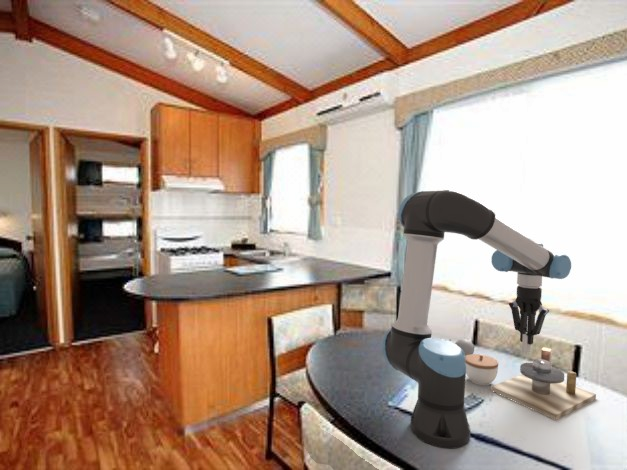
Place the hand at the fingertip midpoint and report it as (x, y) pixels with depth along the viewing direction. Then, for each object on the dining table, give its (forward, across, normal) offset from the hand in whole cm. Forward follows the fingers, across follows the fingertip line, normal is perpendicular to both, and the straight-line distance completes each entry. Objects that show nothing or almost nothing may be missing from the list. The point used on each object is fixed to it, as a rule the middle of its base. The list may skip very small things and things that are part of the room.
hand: (526, 352), depth 132 cm
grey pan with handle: (+3, -9, +6) cm, 11 cm away
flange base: (+9, -10, +8) cm, 16 cm away
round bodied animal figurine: (+10, +23, +6) cm, 26 cm away
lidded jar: (+10, +6, +16) cm, 20 cm away
